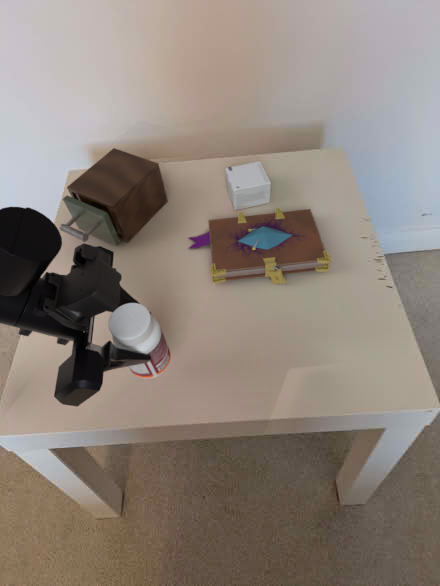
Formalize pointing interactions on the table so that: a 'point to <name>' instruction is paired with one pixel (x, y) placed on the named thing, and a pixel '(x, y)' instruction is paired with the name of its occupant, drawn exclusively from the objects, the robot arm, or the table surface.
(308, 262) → the book
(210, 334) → the table surface
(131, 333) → the pill bottle
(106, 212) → the drawer
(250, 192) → the small box
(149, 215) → the cabinet
